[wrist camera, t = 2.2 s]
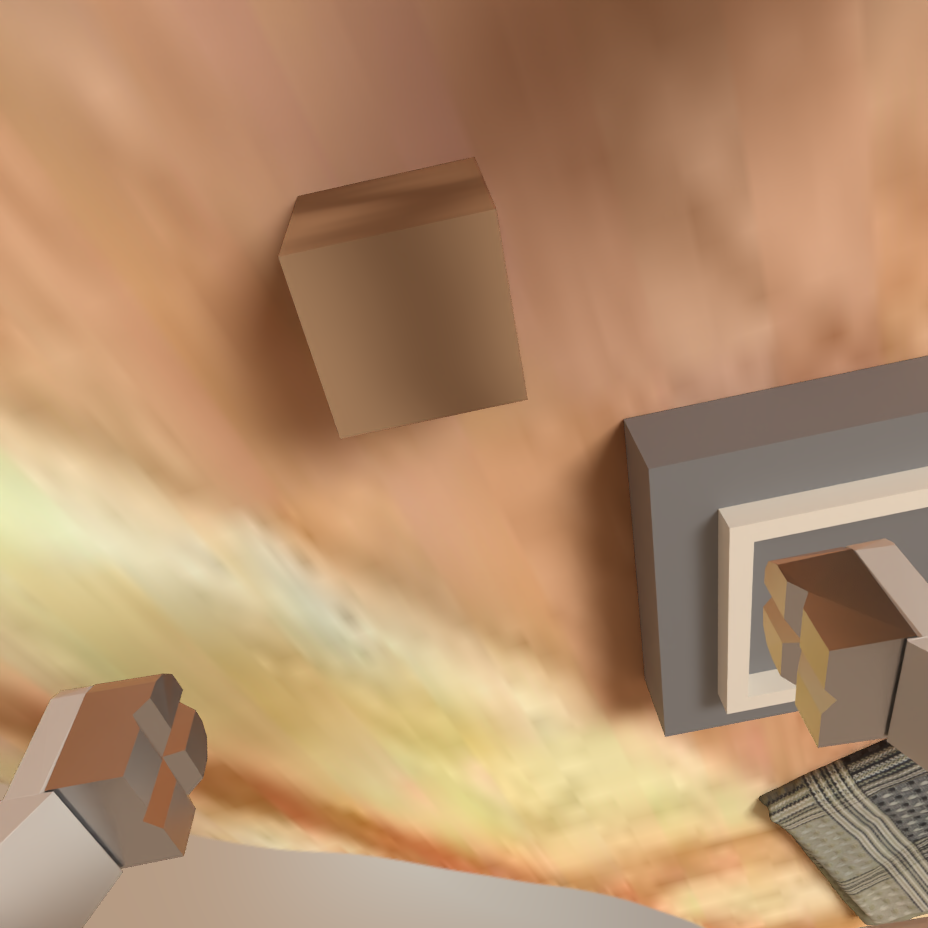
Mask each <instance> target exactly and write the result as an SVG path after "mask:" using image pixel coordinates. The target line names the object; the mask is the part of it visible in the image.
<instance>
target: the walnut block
mask: <svg viewBox="0 0 928 928" xmlns="http://www.w3.org/2000/svg"><path fill="white" fill-rule="evenodd" d="M278 258H279V261H280V264H281V267H282V270H283V273H284V276H285V279H286V282H287V284H288V287H289V290H290V293H291V296H292V299H293V302H294V305H295V308H296V311H297V314H298V317H299V320H300V323H301V325H302V328H303V331H304V334H305V337H306V340H307V343H308V346H309V349H310V352H311V355H312V358H313V361H314V364H315V366H316V369H317V372H318V375H319V378H320V381H321V384H322V387H323V390H324V393H325V396H326V399H327V402H328V405H329V407H330V410H331V413H332V416H333V419H334V422H335V425H336V428H337V431H338V434H339V437H340V439H343V438H348V437H352V436H357V435H362V434H367V433H371V432H376V431H381V430H386V429H390V428H395V427H400V426H405V425H409V424H414V423H419V422H424V421H428V420H433V419H438V418H443V417H447V416H452V415H457V414H462V413H466V412H471V411H476V410H480V409H485V408H490V407H495V406H499V405H504V404H509V403H514V402H518V401H523V400H528V398H527V392H526V386H525V380H524V374H523V368H522V362H521V356H520V350H519V344H518V338H517V332H516V326H515V320H514V314H513V308H512V301H511V295H510V289H509V283H508V277H507V271H506V265H505V259H504V253H503V247H502V241H501V235H500V229H499V223H498V217H497V210H496V207H495V205H494V202H493V200H492V198H491V195H490V193H489V190H488V188H487V186H486V183H485V181H484V179H483V176H482V174H481V172H480V169H479V167H478V164H477V162H476V160H475V157H472V158H467V159H463V160H458V161H454V162H449V163H445V164H440V165H436V166H431V167H427V168H422V169H418V170H413V171H409V172H404V173H400V174H395V175H391V176H386V177H382V178H377V179H373V180H368V181H364V182H359V183H355V184H350V185H346V186H341V187H337V188H332V189H328V190H323V191H319V192H314V193H310V194H305V195H301V196H298V197H297V200H296V203H295V206H294V210H293V213H292V216H291V219H290V222H289V225H288V228H287V231H286V234H285V237H284V240H283V243H282V246H281V249H280V252H279V255H278Z"/></svg>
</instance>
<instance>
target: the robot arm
mask: <svg viewBox="0 0 928 928" xmlns="http://www.w3.org/2000/svg"><path fill="white" fill-rule="evenodd" d="M764 583H765V585H766V587H767V589H768V591H769V593H770V594H771V596H772V597H771V598H770V600H769V601H768V602H767V603H766V604H765V605H764V607H763V627H764V632H765V637H766V642H767V646H768V649H769V652H770V654H771V657H772V660H773V662H774V664H775V666H776V668H777V670H778V672H779V674H780V676H781V677H783V678H785V679H786V680H788V681H790V682H791V683H793V684H794V685H796V696H795V705H796V707H797V709H798V711H799V713H800V715H801V716H802V718H803V720H804V722H805V724H806V726H807V728H808V730H809V732H810V734H811V736H812V737H813V739H814V741H815V743H816V745H817V747H818V748H819V747H826V746H833V745H840V744H847V743H854V742H861V741H868V740H875V739H882V738H887V742H888V743H890V744H891V745H892V746H894V747H895V748H897V749H898V750H899V751H901V752H902V753H903V754H905V755H906V756H907V757H909V758H910V759H911V760H913V761H914V762H915V763H917V764H918V765H919V766H921V767H922V768H923V769H925V770H926V771H928V583H927V582H926V581H925V580H924V578H923V577H922V576H921V575H920V574H919V572H918V571H917V570H916V569H915V568H914V566H913V565H912V564H911V563H910V562H909V560H908V559H907V558H906V557H905V556H904V554H903V553H902V552H901V551H900V550H899V548H898V547H897V546H896V545H895V544H894V543H893V542H891V541H889V540H887V539H886V538H885V539H880V540H875V541H870V542H864V543H859V544H854V545H849V546H846V547H838V548H833V549H828V550H823V551H818V552H813V553H808V554H803V555H797V556H792V557H787V558H782V559H777V560H772V561H768V563H767V566H766V568H765V578H764ZM182 691H183V689H182V688H181V686H180V685H179V683H178V682H177V680H176V679H175V678H174V676H173V675H172V674H158V675H152V676H146V677H139V678H133V679H127V680H121V681H114V682H108V683H102V684H95V685H93V686H87V687H81V688H74V689H68V690H62V691H60V692H59V693H57V694H56V695H55V696H54V697H53V698H52V699H51V700H50V701H49V703H48V706H47V708H46V710H45V712H44V714H43V716H42V718H41V720H40V722H39V724H38V727H37V729H36V731H35V733H34V735H33V737H32V739H31V741H30V743H29V746H28V748H27V750H26V752H25V754H24V756H23V758H22V760H21V762H20V764H19V767H18V769H17V771H16V773H15V775H14V777H13V779H12V781H11V783H10V785H9V788H8V790H7V792H6V794H5V796H4V798H3V800H0V928H83V927H84V925H85V924H86V922H87V921H88V920H89V918H90V917H91V916H92V914H93V913H94V911H95V910H96V909H97V907H98V906H99V905H100V903H101V902H102V900H103V899H104V897H105V896H106V895H107V893H108V892H109V890H110V889H111V888H112V887H113V885H114V884H115V882H116V881H117V880H118V878H119V877H120V875H121V874H122V873H123V871H122V870H121V869H122V868H127V867H132V866H137V865H141V864H147V863H152V862H157V861H162V860H167V859H172V858H177V857H182V856H184V854H185V850H186V845H187V841H188V837H189V833H190V829H191V825H192V821H193V817H194V813H195V809H196V808H195V806H194V805H193V803H192V801H191V799H190V797H189V794H190V793H191V791H192V790H193V789H194V788H195V787H196V786H197V784H198V783H199V782H200V781H201V780H202V779H203V776H204V771H205V767H206V762H207V736H206V732H205V729H204V726H203V722H202V720H201V719H200V717H199V715H198V713H197V712H196V710H194V709H192V708H190V707H188V706H186V705H184V704H182V703H180V702H179V701H180V698H181V694H182ZM860 928H928V917H923V918H917V919H911V920H904V921H898V922H892V923H885V924H879V925H872V926H866V927H860Z"/></svg>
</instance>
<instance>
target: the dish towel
mask: <svg viewBox="0 0 928 928" xmlns="http://www.w3.org/2000/svg"><path fill="white" fill-rule="evenodd" d="M759 800H760V801H761V802H762V803H763V804H764V805H765V806H767V807H768V809H769V816H770V820H771V821H772V822H774V823H776V824H779V825H780V826H781V827H782V828H783V829H785V830H786V831H787V832H788V833H790V834H791V835H792V836H793V837H794V838H795V840H796V842H797V843H798V844H799V845H800V846H801V847H802V849H803V851H804V852H805V853H806V854H807V856H808V857H809V858H810V859H811V860H812V861H813V862H814V864H815V865H816V866H817V867H818V868H819V870H820V871H821V872H822V874H823V875H824V876H825V877H826V878H827V880H828V881H829V882H830V884H831V885H832V887H833V888H834V889H835V890H836V891H837V893H838V894H839V895H840V897H841V898H842V900H843V901H844V902H845V903H846V904H847V905H848V906H849V907H850V908H851V909H852V910H853V911H854V912H855V914H856V915H857V916H859V918H860V919H861V920H862V921H863V922H864V923H865V924H866V925H879V924H885V923H892V922H898V921H904V920H910V919H911V918H913V917H916V916H920V915H924V914H928V771H926V770H925V769H923V768H922V767H921V766H919V765H918V764H917V763H915V762H914V761H913V760H911V759H910V758H909V757H907V756H906V755H905V754H903V753H902V752H901V751H899V750H898V749H897V748H895V747H894V746H892V745H891V744H890V743H888V742H887V739H886V740H883V741H881V742H879V743H877V744H874V745H871V746H869V747H867V748H865V749H862V750H860V751H857V752H855V753H853V754H851V755H848V756H846V757H844V758H841V759H839V760H837V761H835V762H832V763H830V764H828V765H826V766H824V767H821V768H819V769H816V770H814V771H812V772H810V773H807V774H805V775H803V776H801V777H799V778H797V779H795V780H793V781H791V782H789V783H787V784H785V785H783V786H781V787H779V788H777V789H774V790H772V791H770V792H768V793H766V794H764V795H762V796H760V797H759Z"/></svg>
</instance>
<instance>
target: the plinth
mask: <svg viewBox="0 0 928 928" xmlns="http://www.w3.org/2000/svg"><path fill="white" fill-rule="evenodd" d="M624 429H625V441H626V454H627V466H628V478H629V490H630V503H631V515H632V527H633V539H634V552H635V564H636V576H637V589H638V601H639V613H640V625H641V638H642V650H643V662H644V674H645V681H646V684H647V687H648V690H649V692H650V695H651V698H652V701H653V704H654V706H655V709H656V712H657V715H658V718H659V721H660V723H661V726H662V729H663V732H664V735H665V737H666V736H672V735H677V734H682V733H687V732H692V731H698V730H703V729H708V728H713V727H718V726H723V725H729V724H734V723H739V722H744V721H749V720H754V719H760V718H765V717H770V716H775V715H780V714H785V713H791V712H796V711H798V709H797V707H796V705H795V696H796V685H794V684H793V683H791V682H790V681H788V680H786V679H785V678H783V677H781V676H780V674H779V672H778V670H777V668H776V666H775V664H774V662H773V660H772V657H771V654H770V652H769V649H768V646H767V642H766V637H765V632H764V627H763V607H764V605H765V604H766V603H767V602H768V601H769V600H770V598H771V597H772V596H771V594H770V593H769V591H768V589H767V587H766V585H765V583H764V578H765V568H766V566H767V563H768V561H772V560H777V559H782V558H787V557H792V556H797V555H803V554H808V553H813V552H818V551H823V550H828V549H833V548H838V547H846V546H849V545H854V544H859V543H864V542H870V541H875V540H880V539H885V538H886V539H887V540H889V541H891V542H893V543H894V544H895V545H896V546H897V547H898V548H899V550H900V551H901V552H902V553H903V554H904V556H905V557H906V558H907V559H908V560H909V562H910V563H911V564H912V565H913V566H914V568H915V569H916V570H917V571H918V572H919V574H920V575H921V576H922V577H923V578H924V580H925V581H926V582H927V583H928V356H925V357H920V358H915V359H910V360H905V361H901V362H896V363H891V364H886V365H881V366H877V367H872V368H867V369H862V370H858V371H853V372H848V373H843V374H838V375H834V376H829V377H824V378H819V379H814V380H810V381H805V382H800V383H795V384H790V385H786V386H781V387H776V388H771V389H767V390H762V391H757V392H752V393H747V394H743V395H738V396H733V397H728V398H723V399H719V400H714V401H709V402H704V403H699V404H695V405H690V406H685V407H680V408H675V409H671V410H666V411H661V412H656V413H652V414H647V415H642V416H637V417H632V418H628V419H624Z"/></svg>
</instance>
